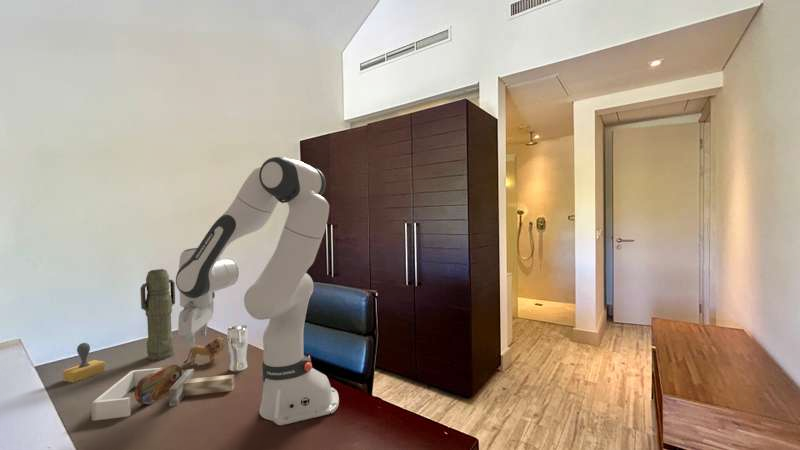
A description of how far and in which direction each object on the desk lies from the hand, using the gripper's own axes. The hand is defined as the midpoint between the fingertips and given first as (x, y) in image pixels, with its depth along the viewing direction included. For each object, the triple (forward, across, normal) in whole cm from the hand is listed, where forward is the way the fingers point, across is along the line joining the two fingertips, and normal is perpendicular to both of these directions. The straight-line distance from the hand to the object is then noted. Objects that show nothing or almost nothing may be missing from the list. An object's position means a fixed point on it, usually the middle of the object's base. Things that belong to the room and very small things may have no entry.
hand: (197, 341), depth 113 cm
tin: (+17, 0, +11) cm, 20 cm away
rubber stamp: (+17, +23, +45) cm, 53 cm away
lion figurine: (+17, +25, +6) cm, 31 cm away
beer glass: (+16, +16, -8) cm, 24 cm away
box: (+16, 0, +19) cm, 25 cm away
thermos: (+17, +36, +26) cm, 47 cm away
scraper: (+16, 0, -2) cm, 17 cm away
